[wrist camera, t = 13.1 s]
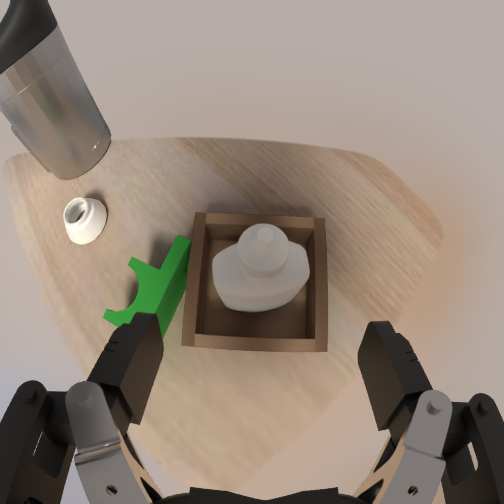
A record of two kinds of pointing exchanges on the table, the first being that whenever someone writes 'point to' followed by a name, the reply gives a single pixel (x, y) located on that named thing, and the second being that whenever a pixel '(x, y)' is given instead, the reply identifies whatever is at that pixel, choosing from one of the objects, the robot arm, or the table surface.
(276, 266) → the eye dropper bottle
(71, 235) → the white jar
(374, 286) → the table surface
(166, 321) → the pipe clamp
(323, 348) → the box
